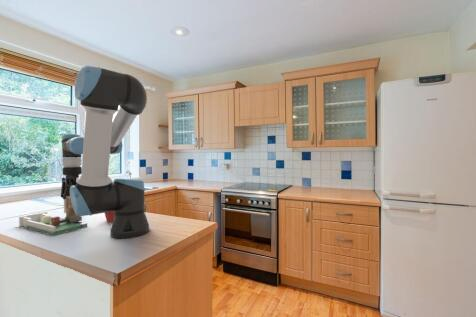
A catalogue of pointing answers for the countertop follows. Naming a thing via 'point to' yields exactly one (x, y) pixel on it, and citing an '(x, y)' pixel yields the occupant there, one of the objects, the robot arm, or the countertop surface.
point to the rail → (79, 223)
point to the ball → (46, 219)
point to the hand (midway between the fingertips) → (73, 213)
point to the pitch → (36, 224)
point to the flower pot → (110, 216)
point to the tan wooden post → (67, 215)
